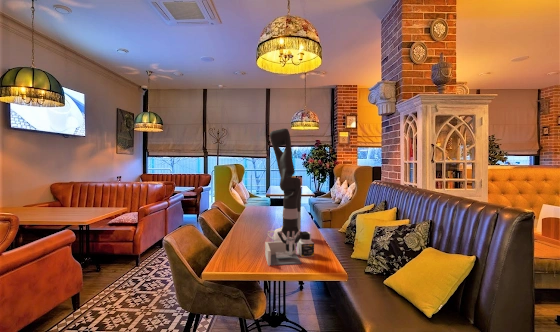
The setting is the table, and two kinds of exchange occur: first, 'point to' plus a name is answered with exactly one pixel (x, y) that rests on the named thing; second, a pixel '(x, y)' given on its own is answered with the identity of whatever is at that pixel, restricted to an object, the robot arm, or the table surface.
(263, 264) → the table surface
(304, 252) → the medicine bottle
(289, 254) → the bracket
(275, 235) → the teapot
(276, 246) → the corner walls
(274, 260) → the slate mat
